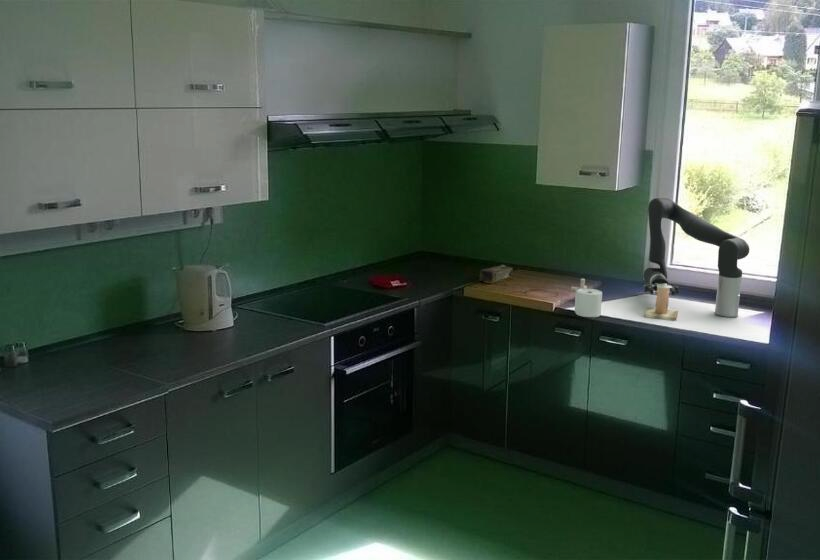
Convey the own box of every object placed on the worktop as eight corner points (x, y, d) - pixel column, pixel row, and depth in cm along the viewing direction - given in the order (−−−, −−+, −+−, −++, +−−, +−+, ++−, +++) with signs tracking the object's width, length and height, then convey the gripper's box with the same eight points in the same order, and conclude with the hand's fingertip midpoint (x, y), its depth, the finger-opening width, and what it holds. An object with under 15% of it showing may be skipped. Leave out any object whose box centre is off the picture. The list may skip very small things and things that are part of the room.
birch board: (677, 313, 352) (678, 310, 352) (676, 320, 342) (676, 317, 341) (646, 310, 357) (647, 307, 357) (644, 317, 346) (644, 314, 346)
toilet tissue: (598, 318, 343) (599, 295, 341) (570, 315, 347) (571, 292, 345) (602, 312, 352) (604, 290, 350) (575, 309, 357) (576, 287, 355)
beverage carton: (513, 278, 413) (513, 265, 412) (491, 285, 399) (492, 272, 397) (500, 276, 418) (500, 263, 417) (478, 282, 404) (478, 269, 402)
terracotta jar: (668, 311, 351) (670, 284, 348) (667, 314, 346) (669, 287, 343) (655, 310, 353) (657, 283, 350) (654, 313, 348) (656, 286, 345)
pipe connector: (567, 301, 370) (568, 280, 368) (574, 296, 379) (575, 275, 376) (589, 304, 365) (590, 282, 363) (595, 299, 374) (596, 278, 372)
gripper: (643, 274, 364) (646, 283, 349) (676, 276, 362) (680, 284, 346) (641, 290, 366) (644, 299, 351) (674, 292, 364) (679, 301, 348)
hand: (662, 292), depth 349 cm, fingers open, 8 cm apart
